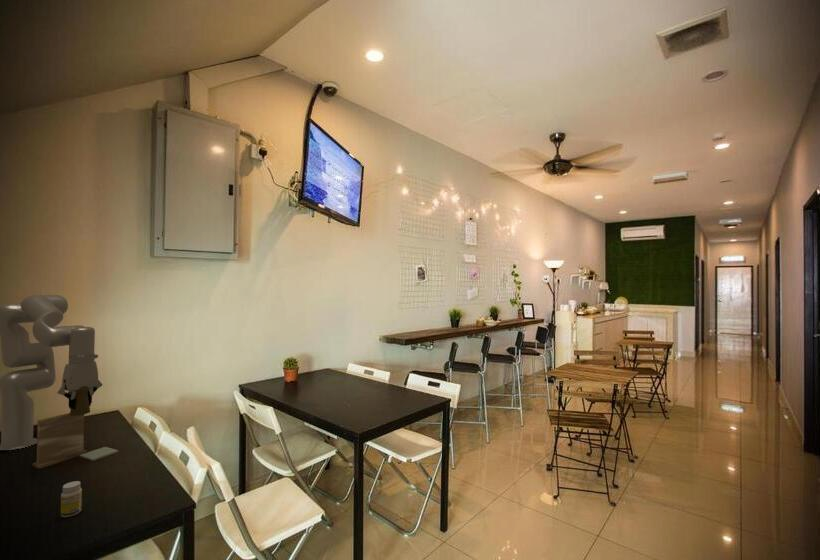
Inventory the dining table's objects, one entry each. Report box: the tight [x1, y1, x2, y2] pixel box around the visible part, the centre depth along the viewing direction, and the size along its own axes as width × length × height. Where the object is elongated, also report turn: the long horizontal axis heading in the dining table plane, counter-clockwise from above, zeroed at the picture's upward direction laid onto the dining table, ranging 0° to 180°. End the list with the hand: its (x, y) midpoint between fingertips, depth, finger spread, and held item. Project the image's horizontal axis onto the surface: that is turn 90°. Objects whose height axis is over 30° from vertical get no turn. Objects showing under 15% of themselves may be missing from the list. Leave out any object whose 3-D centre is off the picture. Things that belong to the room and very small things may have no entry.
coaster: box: [79, 446, 119, 462], centre depth 156 cm, size 9×9×1 cm
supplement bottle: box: [60, 480, 83, 518], centre depth 115 cm, size 5×5×8 cm
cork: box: [69, 386, 91, 416], centre depth 149 cm, size 6×6×11 cm
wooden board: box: [32, 412, 88, 469], centre depth 151 cm, size 5×15×17 cm, turn 155°
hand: (80, 406), depth 149 cm, fingers closed on cork, 4 cm apart
